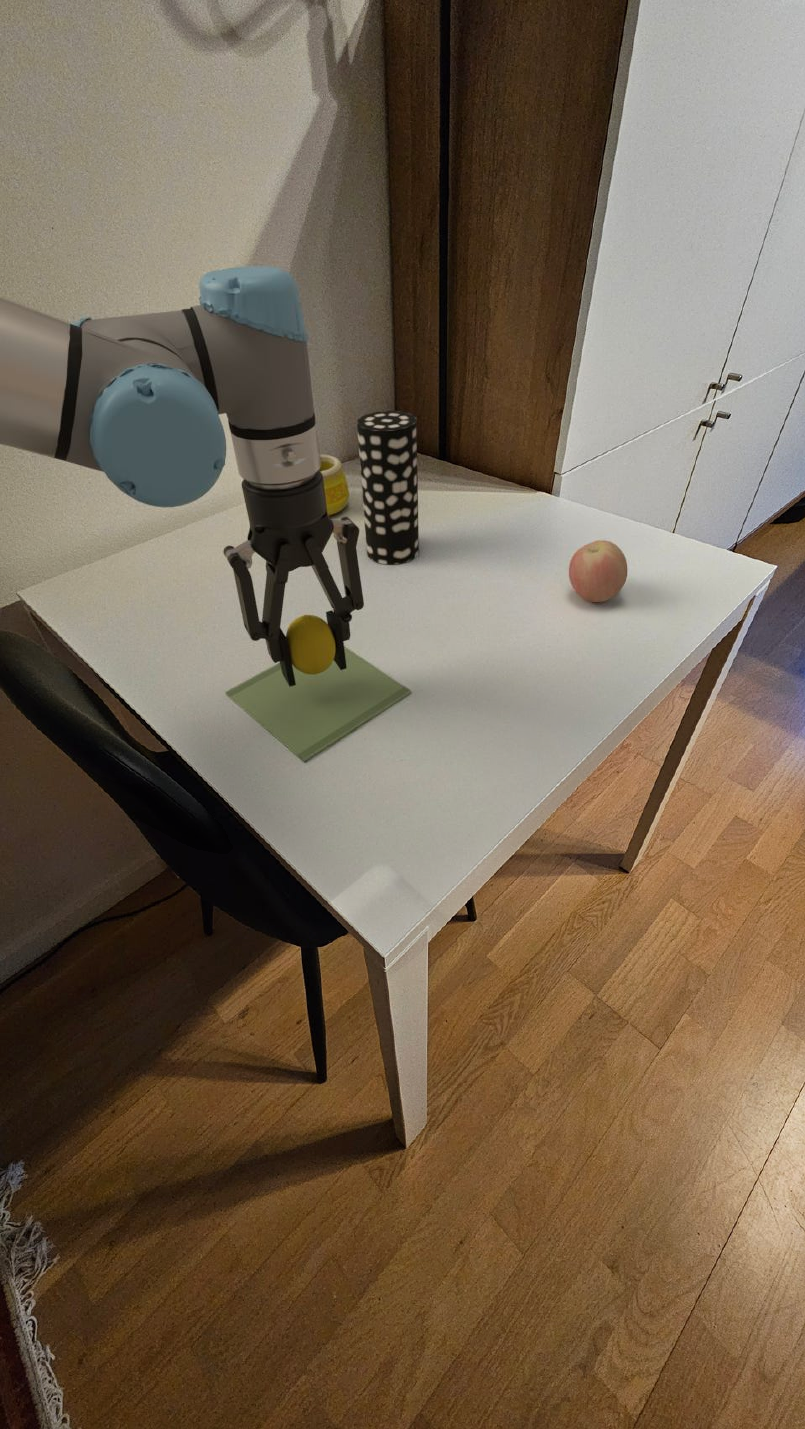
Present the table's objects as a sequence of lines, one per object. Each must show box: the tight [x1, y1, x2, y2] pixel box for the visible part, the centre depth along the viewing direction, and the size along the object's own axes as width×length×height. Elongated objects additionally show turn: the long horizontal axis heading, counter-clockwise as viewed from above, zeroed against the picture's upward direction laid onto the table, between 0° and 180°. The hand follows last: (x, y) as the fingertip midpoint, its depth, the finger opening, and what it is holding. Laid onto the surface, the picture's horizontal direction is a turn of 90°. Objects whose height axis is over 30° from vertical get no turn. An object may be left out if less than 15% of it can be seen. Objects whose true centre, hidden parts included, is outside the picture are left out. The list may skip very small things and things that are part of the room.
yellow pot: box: [319, 453, 350, 516], centre depth 110 cm, size 13×11×12 cm
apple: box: [568, 539, 628, 603], centre depth 87 cm, size 8×8×8 cm
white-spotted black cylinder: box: [356, 410, 420, 565], centre depth 94 cm, size 8×8×20 cm
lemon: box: [285, 614, 336, 675], centre depth 71 cm, size 6×6×8 cm
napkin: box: [224, 646, 412, 763], centre depth 76 cm, size 16×16×1 cm
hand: (314, 670), depth 73 cm, fingers closed on lemon, 6 cm apart
